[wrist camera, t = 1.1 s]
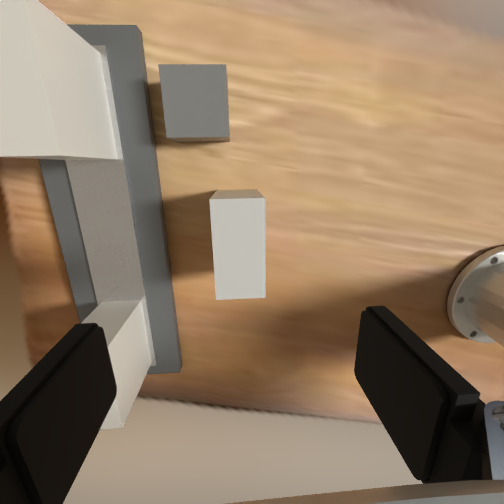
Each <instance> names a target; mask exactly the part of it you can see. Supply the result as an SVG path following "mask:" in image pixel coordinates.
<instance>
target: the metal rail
mask: <svg viewBox="0 0 504 504" xmlns="http://www.w3.org/2000/svg"><path fill="white" fill-rule="evenodd" d="M91 46H92V47H94V48H95V49H96V50H97V51H98V52H100V56H101V62H102V68H103V74H104V80H105V86H106V92H107V98H108V104H109V110H110V116H111V122H112V128H113V134H114V140H115V146H116V152H117V158H118V159H113V160H65V161H66V165H67V170H68V174H69V179H70V183H71V188H72V192H73V196H74V201H75V205H76V210H77V214H78V219H79V223H80V228H81V232H82V236H83V241H84V245H85V250H86V254H87V259H88V263H89V268H90V272H91V277H92V281H93V285H94V290H95V294H96V299H97V303H98V305H99V304H100V303H101V302H110V301H133V300H141V303H142V309H143V315H144V321H145V327H146V333H147V339H148V345H149V351H150V357H151V365H150V366H156V365H157V358H156V351H155V345H154V339H153V332H152V326H151V320H150V313H149V307H148V301H147V294H146V288H145V282H144V275H143V269H142V263H141V256H140V250H139V244H138V237H137V231H136V225H135V218H134V212H133V206H132V199H131V193H130V187H129V180H128V174H127V168H126V161H125V155H124V149H123V142H122V136H121V130H120V123H119V117H118V111H117V104H116V98H115V92H114V85H113V79H112V73H111V66H110V60H109V54H108V48H107V47H106V46H105V45H91Z"/></svg>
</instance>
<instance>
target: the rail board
mask: <svg viewBox="0 0 504 504" xmlns="http://www.w3.org/2000/svg"><path fill="white" fill-rule="evenodd" d="M68 26H69V27H70V28H71V29H72V30H73V31H75V32H76V33H77V34H78V35H79V36H81V37H82V38H83V39H84V40H85V41H86V42H88V43H89V44H90V45H105V46H106V47H107V48H108V54H109V60H110V66H111V73H112V79H113V85H114V92H115V98H116V104H117V111H118V117H119V123H120V130H121V136H122V142H123V149H124V155H125V161H126V168H127V174H128V180H129V187H130V193H131V199H132V206H133V212H134V218H135V225H136V231H137V237H138V244H139V250H140V256H141V263H142V269H143V275H144V282H145V288H146V294H147V301H148V307H149V313H150V320H151V326H152V332H153V339H154V345H155V351H156V358H157V365H156V366H150V367H149V369H148V371H147V374H161V373H178V372H181V368H182V359H181V351H180V342H179V334H178V326H177V318H176V310H175V302H174V293H173V285H172V277H171V269H170V261H169V253H168V245H167V236H166V228H165V220H164V212H163V204H162V196H161V187H160V179H159V171H158V163H157V155H156V147H155V138H154V130H153V122H152V114H151V106H150V98H149V89H148V81H147V73H146V65H145V57H144V49H143V40H142V32H141V31H140V30H139V28H138V27H137V25H68ZM39 162H40V166H41V170H42V174H43V178H44V182H45V186H46V190H47V194H48V198H49V202H50V206H51V210H52V213H53V217H54V221H55V225H56V229H57V233H58V237H59V241H60V245H61V249H62V253H63V257H64V261H65V265H66V269H67V273H68V276H69V280H70V284H71V288H72V292H73V296H74V300H75V304H76V308H77V312H78V316H79V320H80V324H81V323H82V322H83V321H84V320H85V319H86V318H87V317H88V316H89V315H90V314H91V313H92V311H93V310H94V309H95V308H96V307H97V306H98V303H97V299H96V294H95V290H94V285H93V281H92V277H91V272H90V268H89V263H88V259H87V254H86V250H85V245H84V241H83V236H82V232H81V228H80V223H79V219H78V214H77V210H76V205H75V201H74V196H73V192H72V188H71V183H70V179H69V174H68V170H67V165H66V161H65V160H55V159H39Z"/></svg>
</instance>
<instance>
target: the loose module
mask: <svg viewBox="0 0 504 504" xmlns="http://www.w3.org/2000/svg"><path fill="white" fill-rule="evenodd" d="M209 202H210V216H211V231H212V246H213V261H214V276H215V291H216V300H224V299H246V298H266V296H265V197H264V196H263V195H262V194H261V193H260V192H259V191H258V190H257V189H246V190H217V191H216V192H215V193H214V194H213V196H212V197H211V198H210V199H209Z"/></svg>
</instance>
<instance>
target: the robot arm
mask: <svg viewBox="0 0 504 504" xmlns="http://www.w3.org/2000/svg"><path fill="white" fill-rule="evenodd" d="M447 312H448V317H449V319H450V322H451V324H452V325H453V326H454V328H455V329H456V330H457V331H459V332H460V333H461V334H462V335H464V336H465V337H467V338H468V339H471V340H474V341H477V342H483V343H494V342H497V343H499V344H500V345H502V346H503V347H504V246H500V247H497V248H494V249H492V250H489V251H487V252H485V253H483V254H482V255H480V256H478V257H477V258H476V259H474V260H473V261H472V262H470V263H469V264H468V265H467V266H466V267H465V268H464V269H463V270H462V271H461V273H460V274H459V275H458V277H457V278H456V280H455V281H454V283H453V285H452V287H451V289H450V293H449V296H448V301H447ZM354 371H355V376H356V379H357V381H358V383H359V384H360V386H361V388H362V389H363V391H364V393H365V395H366V396H367V398H368V400H369V401H370V403H371V405H372V406H373V408H374V410H375V412H376V413H377V415H378V417H379V418H380V420H381V422H382V423H383V425H384V427H385V429H386V430H387V432H388V434H389V435H390V437H391V439H392V440H393V442H394V444H395V446H396V447H397V449H398V451H399V452H400V454H401V456H402V457H403V459H404V461H405V463H406V464H407V466H408V468H409V469H410V471H411V473H412V474H413V476H414V477H415V478H416V479H417V480H421V481H422V483H423V484H415V485H403V486H393V487H383V488H373V489H363V490H353V491H343V492H333V493H323V494H312V495H303V496H294V497H283V498H274V499H264V500H255V501H246V502H236V503H227V504H504V401H492V402H489V403H487V404H485V403H484V402H483V401H481V400H480V399H479V396H480V392H478V391H477V390H476V389H475V388H474V387H473V386H472V385H471V384H470V383H469V382H468V381H466V380H465V379H464V378H463V377H462V376H461V375H460V374H459V373H458V372H457V371H455V370H454V369H453V368H452V367H451V366H450V365H449V364H448V363H447V362H446V361H444V360H443V359H442V358H441V357H440V356H439V355H438V354H437V353H436V352H435V351H434V350H432V349H431V348H430V347H429V346H428V345H427V344H426V343H425V342H424V341H423V340H421V339H420V338H419V337H418V336H417V335H416V334H415V333H414V332H413V331H412V330H410V329H409V328H408V327H407V326H406V325H405V324H404V323H403V322H402V321H401V320H399V319H398V318H397V317H396V316H395V315H394V314H393V313H392V312H391V311H390V310H389V309H387V308H386V307H385V306H369V307H367V308H366V310H365V311H362V313H361V320H360V328H359V336H358V344H357V352H356V360H355V368H354ZM116 394H117V385H116V381H115V377H114V372H113V368H112V364H111V359H110V355H109V351H108V346H107V342H106V338H105V333H104V330H103V328H102V327H99V326H98V324H97V323H81V324H76V325H75V326H74V327H73V328H72V329H71V330H70V331H69V332H68V333H67V334H66V335H65V336H64V337H63V338H62V339H61V340H60V341H59V342H58V343H57V344H56V345H55V346H54V347H53V348H52V349H51V350H50V351H49V352H48V353H47V354H46V355H45V356H44V357H43V358H42V359H41V360H40V361H39V362H38V363H37V364H36V365H35V366H34V368H33V369H32V370H31V371H30V372H29V373H28V374H27V375H26V376H25V377H24V378H23V379H22V380H21V381H20V382H19V383H18V384H17V385H16V386H15V387H14V388H13V389H12V390H11V391H10V392H9V393H8V394H7V395H6V396H5V397H4V398H3V399H2V400H1V401H0V504H63V502H64V500H65V498H66V496H67V494H68V492H69V490H70V488H71V486H72V484H73V482H74V480H75V478H76V476H77V474H78V472H79V470H80V468H81V466H82V464H83V462H84V460H85V458H86V456H87V454H88V452H89V450H90V448H91V446H92V444H93V442H94V440H95V438H96V436H97V434H98V432H99V430H100V428H101V426H102V424H103V422H104V420H105V418H106V416H107V414H108V412H109V410H110V408H111V406H112V404H113V402H114V400H115V397H116Z"/></svg>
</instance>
